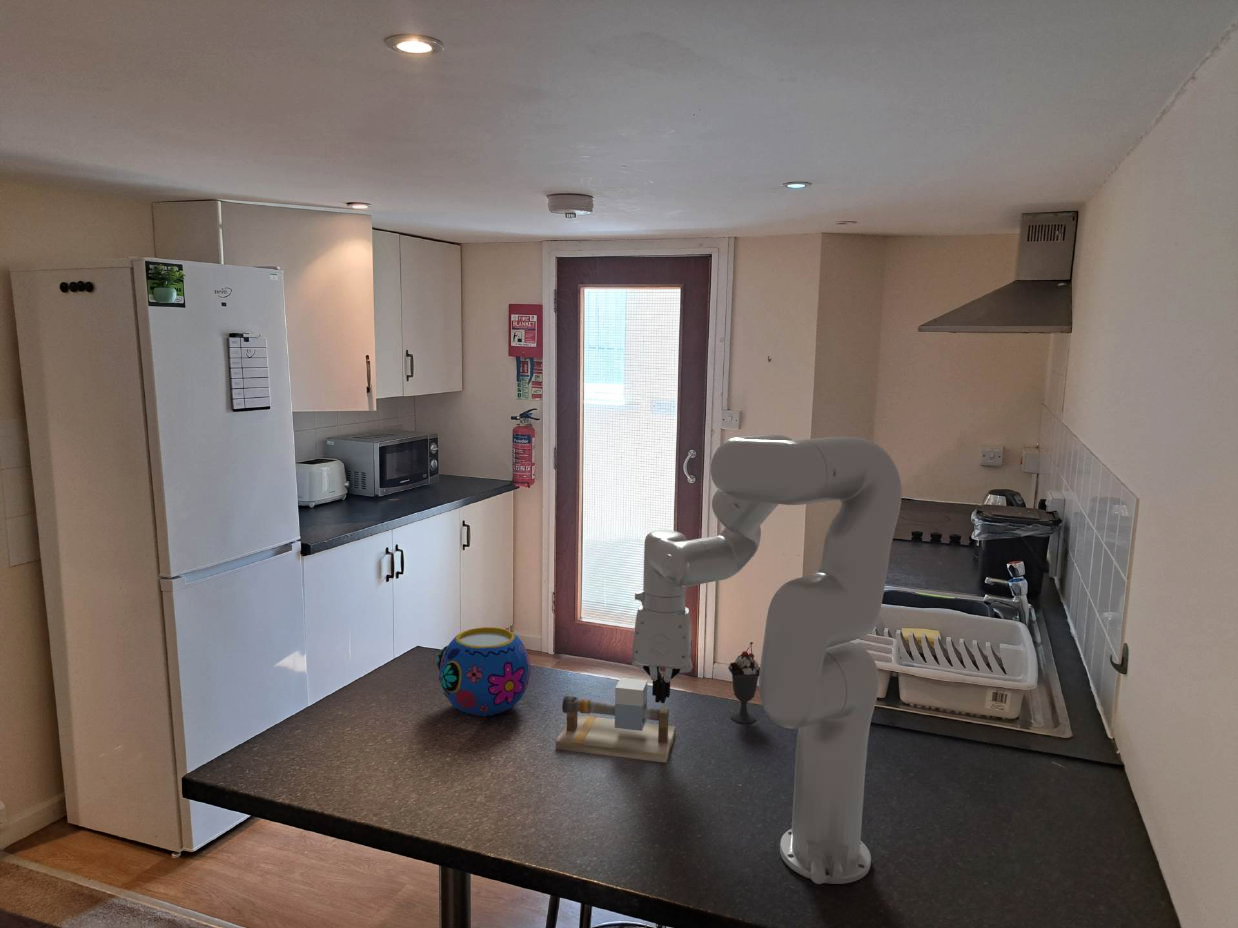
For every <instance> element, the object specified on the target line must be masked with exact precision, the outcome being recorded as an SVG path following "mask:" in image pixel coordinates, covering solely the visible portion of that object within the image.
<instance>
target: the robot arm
mask: <svg viewBox="0 0 1238 928" xmlns="http://www.w3.org/2000/svg"><path fill="white" fill-rule="evenodd" d="M710 475H711V480H712V482H713V484H714V486H715V488H716V489H717V491H716V492H714V494H713V497H712V499H711V500H712V501H711V507H712V509H711V510H712V511H713V514H714V516H715V518H716V519H717V521H718V522H719V523H720V525H722V526H723V527H724V529H723V530H722V531H721V532H720V533H719V534H717V535H716V536H709V537H701V538H695V539H690V540H688V539H687V537H686V535H684V533H681V532H679V531H675V530H667V529H663V530H661V529H660V530H654V531H650V532H649V533H647V534H646V536H645V539H644V551H643V584H642V585H643V587H642V589H643V590H642V591H639V592H638V591H637V592H635V594H634V600H636V601H638V602H640V603H641V605H640V606H639V607H638V608H637V612H636V616H635V622H634V628H633V629H634V631H633V641H632V662H631V664H632V667H636V668H637V669H640V670H641V669H642V670H644V671H645V673H646V674H647V675H648V676H649V677H650V679H651V681H652V688H651V689H652V691H651V695H652V696H653V697H655V698H654V699H655V703H661V704H665V702H666V699H667V698H670V696H671V680H672V679H674V677H676V676H678V675H679V674H684V673H690V672H692V670H693V663H692V659H691V658H692V648H693V647H692V646H693V645H692V644H693V642H692V639H693V638H692V624H691V621H692V620H691V615H690V610H689V608H688V607H686V600H687V599H686V597H687V596H686V594H687V592H686V591H687V588H688V587H689V588H690V587H694V586H699V585H703V584H708V583H713V582H719V581H724V580H727V579H730V578H732V577H733V576H736V574H737V575H738V573H740V571H741V570H742V569H744V567H745V566H747V564H748V563H749V562H750V561H751V560H752V559H753V557H754V556H755V555H756V553H757V552H758V550H759V547H760V543H761V538H762V537H761V536H762V530H761V525H762V524H763V523H764V522H765V521H766V520H767V518H768V517H769V516H770V515H771V514H772V513H773V511H774V510H775V509H776V508H777V507H778V506H779V505H782V506H785V505H786V506H799V505H800V506H802V505H803V506H804V505H810V504H817V503H825V502H832V501H833V502H834V501H840V503H841V504H840V506H839V509H838V511H837V512H836V514H835V515H834V516H833V518H832V520H831V522H830V524H829V526H828V528H827V531H826V533H825V535H824V536H825V537H824V540H823V541H824V542H823V549H822V550H823V551H822V556H821V560H820V564H819V567H818V569H817V571H816V572H815V573H813V574H810V575H806V576H801V577H796V578H794V579H791V580H790V581H789V580H788V581H787V582H785V583H784V584H783V585H782V586H780V587H779V588H778V589H777V591H775V593H774V594H773V596H772V598H771V601H770V603H769V606H768V611H767V616H766V621H765V627H764V637H763V641H762V651H761V658H760V659H761V660H760V666H759V667H760V673H759V677H758V692H759V698H760V701H761V704H762V707H763V710H764V712H765V713H766V714H767V717H769V718H770V720H771V721H772V722H773V723H775V724H776V725H778V726H779V727H782V728H786V729H795V730H796V729H797V736H796V737H797V738H796V749H795V763H794V785H793V802H792V820H791V821H792V822H791V829H788V830H786V832H784V833H783V835H782V836H781V838H780V841H779V854H780V857H781V859H782V860H783V862H784V863H785V864H786V865H787V866H788V867H789V868H790V869H791V870H792V871H794V872H796V873H797V874H799V875H800V876H803V877H804V878H807V879H810V880H811V881H812V882H813V883H815V884H816V885H817V884H818V885H821V884H831V885H832V884H833V885H845V884H850V883H854V882H857V881H858V880H861V879H863V878H864V877H865V876H866V875H868V873H869V872H870V869H871V865H872V855H871V852H870V850H869V849H868V847H867V846H866V844H865V843H864V842H863V841H862V839H861V837H862V822H863V811H864V809H863V808H864V794H865V779H866V766H867V756H868V755H867V754H868V746H869V745H868V742H869V735H870V727H871V722H872V717H873V714H874V711H875V710H874V709H875V707H876V702H877V698H878V694H879V689H880V687H879V686H880V675H879V670H878V667H877V663H876V662H875V659H874V658H873V656H872V655H871V654H870V652H869V651H868V650H867V649H866V648H864V647H863V646H862V645H860V644H857V643H856V642H853V641H857V640H859V639H861V638H863V637H866V636H868V635H869V634H871V633H872V632H873V631H874V630H875V628H876V626H877V624H878V622H879V619H880V615H881V611H882V604H883V603H882V602H883V597H884V592H885V586H886V582H887V581H886V580H887V574H888V568H889V563H890V553H891V549H892V542H893V538H894V534H895V530H896V527H897V525H898V520H899V516H900V515H899V514H900V511H901V507H902V506H901V505H902V495H903V493H902V492H903V491H902V481H901V476H900V473H899V471H898V468H897V466H896V463H895V462H894V461H893V459H892V457H891V456H890V455H889V454H888V452H887V451H886V450H885V449H884V448H883V447H882V446H880V445H879V444H877V443H875V442H873V441H871V440H870V439H867V438H862V437H857V436H831V437H821V438H819V437H818V438H805V439H804V438H803V439H793V438H790V437H788V436H785V435H781V434H780V435H779V434H762V435H749V436H748V435H746V436H745V435H744V436H736V437H735V436H734V437H732V438H729V439H727V440H726V441H724V442H722V443H721V444H720V445H719V446H718V447H717V449H716V450H715V452H714V454H713V456H712V458H711V463H710ZM660 668H665V669H664V674H662V673H661V670H660ZM662 675H663V676H662Z"/></svg>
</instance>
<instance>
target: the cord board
mask: <svg viewBox="0 0 1238 928" xmlns="http://www.w3.org/2000/svg"><path fill="white" fill-rule="evenodd" d="M561 705H562V706H561V709H562V713H563V714H566V724H565V725H564V727H563V728H562V730H561V732H560V734H559V735H558V736H557V739H556V740H555V749H556V750H562V751H570V752H578V753H579V752H580V753H586V754H593V755H604V756H610V757H618V758H625V759H626V758H627V759H634V760H642V761H648V762H649V761H651V762H658V763H666V764H667V762H668V759H669V755H670V751H671V749H672V746H673V743H674V740H675V739H674V738H675V736H676V725H669V710H670V709H669V707H666V706H665V707H664V706H660V708H654V707H653V708H652V707H647V708H645V707H644V708H643V719H646V720H649V721H658V724H657V723H648V722H645V725H644V727H643V730H642V731H638V730H629V729H621V728H615V718H607V717H606V718H605V717H598V716H592V715H591V716H590V715H589V714H597V715H606V716H614V717H615V703H606V702H598V701H592V700H591V699H583V698H582V699H579V698H578V697H577V696H572V695H571V696H569V695H565V696H564V697H563V700H562V704H561ZM578 712H579V713H580V714H587V715H579V713H578Z"/></svg>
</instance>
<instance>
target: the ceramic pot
mask: <svg viewBox="0 0 1238 928" xmlns="http://www.w3.org/2000/svg"><path fill="white" fill-rule="evenodd" d="M528 654H529V653H528V651H527V648H526V646H525V644H524V642H523V641H522V640H521V638H519V636H518V635H517V634H515V633H514V632H512V631H510V630H508V629H505V628H501V627H494V626H493V627H492V626H491V627H488V626H487V627H486V626H483V627H475V628H470V629H467V630H464V631H462V632H460V633H459V634H457V635H456V636H454V638H452V640H451V641H450V642H449V644H448V645H446V646H444V647H443V648H441V649H440V651H439V652H438V654H437V658H436V662H437V663H436V665H437V669H438V670H439V675H438V680H439V682H440V684H441V688H442V690H443V694H444V696H445V697H446V698H447V700H448V701H449V703H450V704H452V706H453V707H454V708H456V709H457V710H459V711H461V712H464V713H466V714H470V715H474V716H493V715H497V714H499V713H503V712H506V711H507V710H509V709H511V708H513V707H515V705H517V704H518V702H519V701H520V700H522V697H523V696H524V694H525V692H526V690H527V688H528V684H529V680H530V678H531V677H530V676H531V671H532V670H531V663H530V662H531V661H530V658H529V655H528Z"/></svg>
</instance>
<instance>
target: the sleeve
mask: <svg viewBox="0 0 1238 928" xmlns="http://www.w3.org/2000/svg"><path fill="white" fill-rule="evenodd" d="M648 683H649V682H648V680H646V679H638V678H627V677H620V678H619V680H618V682H617V684H616V685H615V689H614V690H615V692H614V693H615V694H614V699H615V700H614V704H615V716H614V719H615V728H621V729H629V730H638V731H642V730H643V727H644V725H645V723H647V719H643V708H644V707H645V708H648Z"/></svg>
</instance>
